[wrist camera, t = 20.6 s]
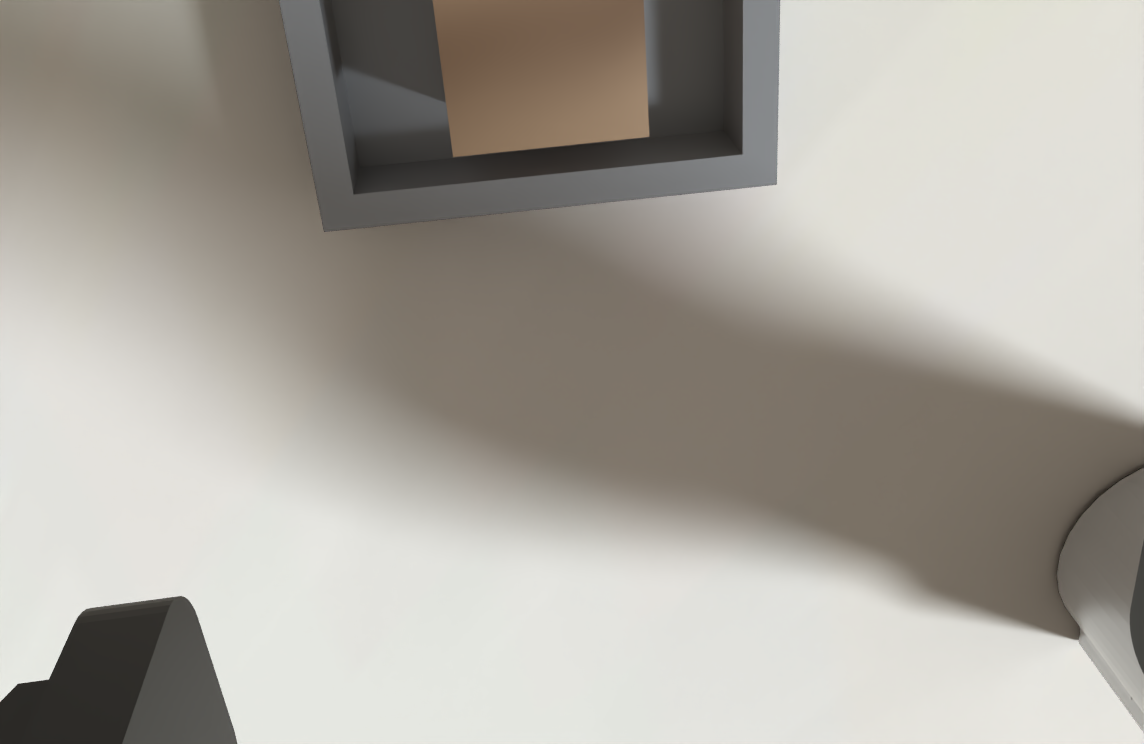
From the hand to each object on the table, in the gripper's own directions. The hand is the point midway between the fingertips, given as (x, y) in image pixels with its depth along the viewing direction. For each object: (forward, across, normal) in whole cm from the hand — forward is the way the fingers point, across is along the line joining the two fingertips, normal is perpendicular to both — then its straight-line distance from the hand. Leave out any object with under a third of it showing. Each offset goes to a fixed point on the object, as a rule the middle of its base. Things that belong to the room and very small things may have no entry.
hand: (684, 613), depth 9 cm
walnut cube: (+25, 0, -1) cm, 25 cm away
